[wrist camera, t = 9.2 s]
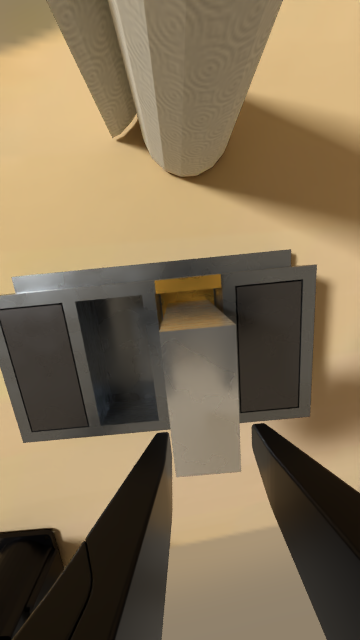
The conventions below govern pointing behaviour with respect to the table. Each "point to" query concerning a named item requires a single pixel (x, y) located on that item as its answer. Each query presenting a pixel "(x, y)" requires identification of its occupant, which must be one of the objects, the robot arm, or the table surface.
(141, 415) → the rack
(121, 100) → the paper towel roll
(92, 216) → the table surface
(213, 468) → the plain gray rectangular block
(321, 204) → the table surface
